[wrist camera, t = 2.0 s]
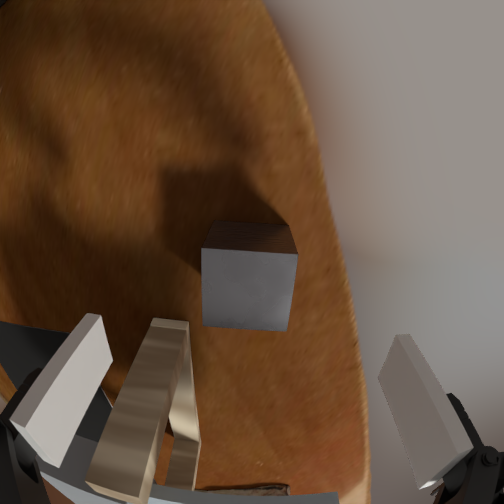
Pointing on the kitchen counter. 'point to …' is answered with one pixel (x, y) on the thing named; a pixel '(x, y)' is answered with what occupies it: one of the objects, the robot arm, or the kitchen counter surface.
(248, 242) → the block
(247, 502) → the trapdoor
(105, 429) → the frame
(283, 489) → the stone
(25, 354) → the tablet
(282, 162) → the kitchen counter surface
